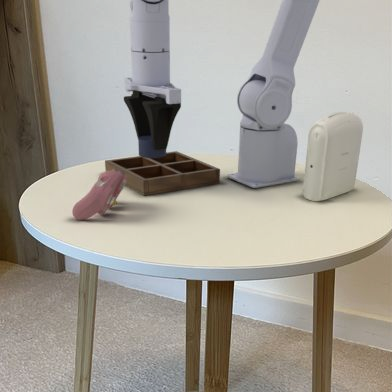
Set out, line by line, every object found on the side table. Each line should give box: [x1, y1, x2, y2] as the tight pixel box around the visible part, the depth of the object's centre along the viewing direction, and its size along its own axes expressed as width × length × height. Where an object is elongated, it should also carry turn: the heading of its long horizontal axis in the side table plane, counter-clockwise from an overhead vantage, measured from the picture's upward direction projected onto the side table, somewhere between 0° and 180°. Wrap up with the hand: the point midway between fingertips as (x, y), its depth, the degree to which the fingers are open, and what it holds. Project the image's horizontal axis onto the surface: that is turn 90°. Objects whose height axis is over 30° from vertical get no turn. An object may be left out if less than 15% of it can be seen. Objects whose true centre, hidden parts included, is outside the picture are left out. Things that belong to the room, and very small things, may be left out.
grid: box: [104, 150, 221, 197], centre depth 102 cm, size 14×14×2 cm
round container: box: [137, 135, 167, 158], centre depth 96 cm, size 4×4×3 cm
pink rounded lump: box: [71, 169, 127, 221], centre depth 86 cm, size 10×5×7 cm, turn 168°
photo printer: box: [302, 111, 364, 202], centre depth 93 cm, size 10×4×12 cm, turn 133°
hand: (152, 145), depth 96 cm, fingers closed on round container, 4 cm apart
